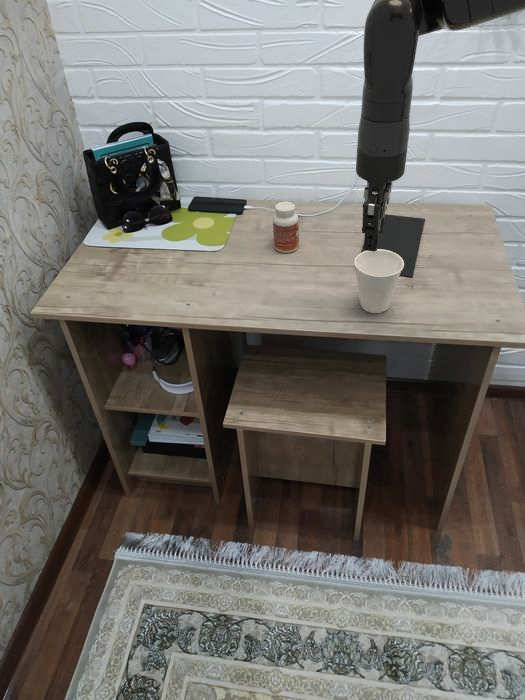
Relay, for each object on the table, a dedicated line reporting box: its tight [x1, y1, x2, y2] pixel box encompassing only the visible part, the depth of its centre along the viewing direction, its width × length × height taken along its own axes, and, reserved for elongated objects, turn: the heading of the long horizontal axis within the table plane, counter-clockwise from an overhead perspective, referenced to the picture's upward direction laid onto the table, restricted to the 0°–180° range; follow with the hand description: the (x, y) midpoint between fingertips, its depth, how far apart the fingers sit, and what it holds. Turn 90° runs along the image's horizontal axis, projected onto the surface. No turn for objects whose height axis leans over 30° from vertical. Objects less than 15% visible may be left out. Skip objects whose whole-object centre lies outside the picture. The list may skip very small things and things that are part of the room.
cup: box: [353, 249, 404, 314], centre depth 118 cm, size 10×10×11 cm
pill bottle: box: [272, 201, 300, 254], centre depth 137 cm, size 6×6×11 cm
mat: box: [354, 213, 426, 278], centre depth 139 cm, size 26×13×1 cm, turn 162°
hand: (373, 240), depth 98 cm, fingers open, 5 cm apart
